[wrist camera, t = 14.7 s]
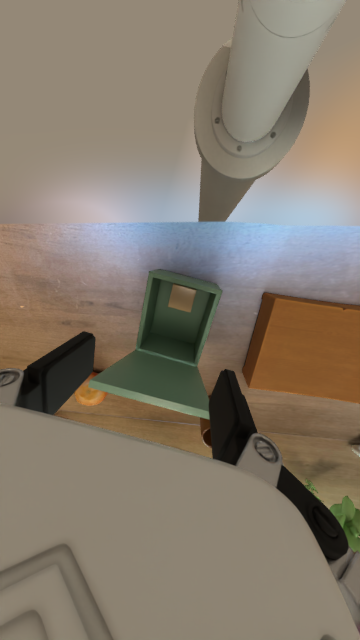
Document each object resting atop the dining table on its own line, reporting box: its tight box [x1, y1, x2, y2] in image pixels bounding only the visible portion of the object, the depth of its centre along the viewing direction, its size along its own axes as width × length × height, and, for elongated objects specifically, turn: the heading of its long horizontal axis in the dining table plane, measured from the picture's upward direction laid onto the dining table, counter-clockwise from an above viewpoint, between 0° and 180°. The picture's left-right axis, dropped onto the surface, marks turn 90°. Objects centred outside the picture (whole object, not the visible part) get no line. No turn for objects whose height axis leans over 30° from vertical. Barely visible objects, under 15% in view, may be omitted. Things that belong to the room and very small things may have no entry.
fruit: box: [74, 372, 108, 405], centre depth 45 cm, size 8×8×8 cm
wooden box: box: [242, 293, 360, 404], centre depth 36 cm, size 23×6×35 cm
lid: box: [88, 350, 210, 420], centre depth 25 cm, size 16×13×1 cm
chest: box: [135, 269, 222, 367], centre depth 35 cm, size 16×13×9 cm
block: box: [168, 283, 197, 312], centre depth 35 cm, size 5×5×5 cm
